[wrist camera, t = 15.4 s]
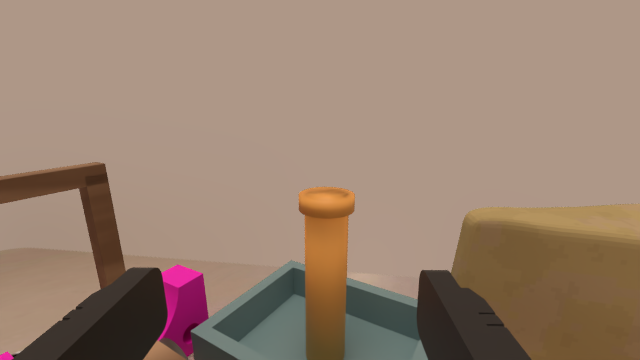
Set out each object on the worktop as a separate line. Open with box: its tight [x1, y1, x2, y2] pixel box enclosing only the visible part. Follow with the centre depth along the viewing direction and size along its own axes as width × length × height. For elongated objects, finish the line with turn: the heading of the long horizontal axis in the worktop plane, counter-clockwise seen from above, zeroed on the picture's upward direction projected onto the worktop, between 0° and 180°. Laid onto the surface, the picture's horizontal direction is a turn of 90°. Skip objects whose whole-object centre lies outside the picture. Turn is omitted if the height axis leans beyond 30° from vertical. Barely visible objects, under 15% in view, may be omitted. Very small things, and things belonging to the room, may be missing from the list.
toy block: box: [0, 265, 208, 360], centre depth 26 cm, size 15×6×8 cm, turn 150°
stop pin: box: [299, 187, 355, 360], centre depth 26 cm, size 4×4×15 cm
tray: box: [191, 261, 428, 360], centre depth 28 cm, size 18×14×4 cm
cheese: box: [451, 204, 640, 360], centre depth 24 cm, size 22×10×15 cm, turn 84°
